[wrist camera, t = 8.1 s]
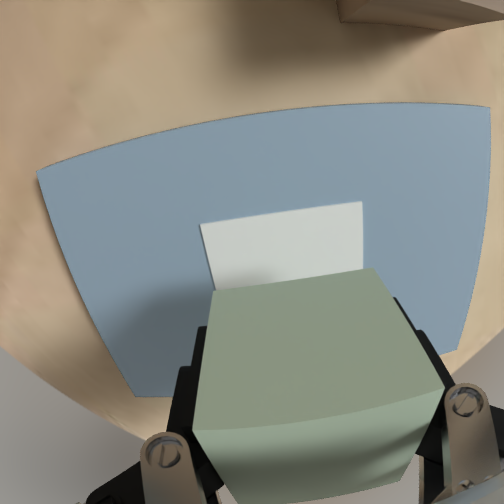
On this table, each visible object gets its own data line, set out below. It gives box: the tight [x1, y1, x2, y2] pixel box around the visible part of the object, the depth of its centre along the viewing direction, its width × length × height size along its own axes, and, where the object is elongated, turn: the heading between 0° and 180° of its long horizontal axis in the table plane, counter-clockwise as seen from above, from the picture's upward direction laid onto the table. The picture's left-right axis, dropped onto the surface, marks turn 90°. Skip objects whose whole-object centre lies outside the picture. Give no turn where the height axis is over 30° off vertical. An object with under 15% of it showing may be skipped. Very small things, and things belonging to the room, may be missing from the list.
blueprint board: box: [36, 102, 491, 397], centre depth 14 cm, size 14×20×1 cm
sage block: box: [192, 267, 445, 504], centre depth 9 cm, size 5×5×5 cm
